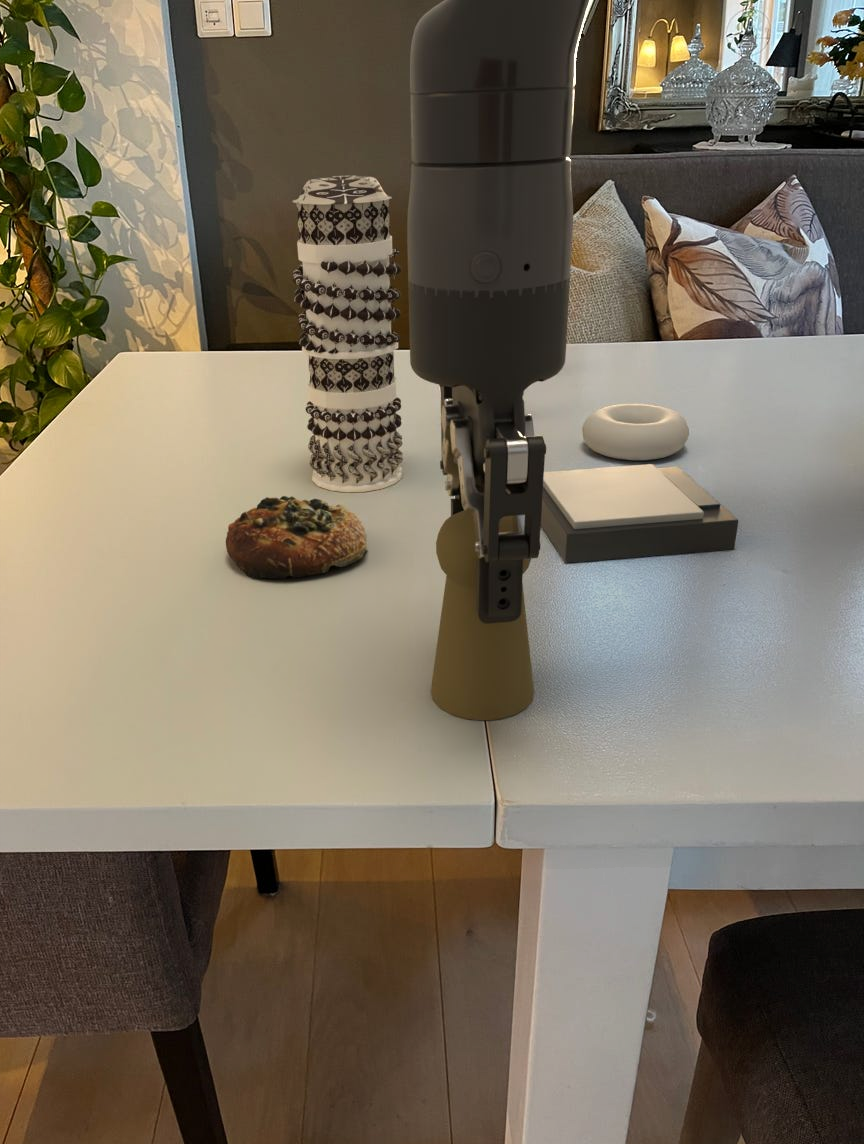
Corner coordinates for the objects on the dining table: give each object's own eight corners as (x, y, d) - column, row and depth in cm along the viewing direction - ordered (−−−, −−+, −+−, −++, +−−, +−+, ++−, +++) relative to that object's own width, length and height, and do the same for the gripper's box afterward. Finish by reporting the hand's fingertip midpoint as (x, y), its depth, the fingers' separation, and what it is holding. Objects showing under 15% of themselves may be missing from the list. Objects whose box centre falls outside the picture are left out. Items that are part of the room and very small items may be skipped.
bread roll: (207, 578, 70) (203, 511, 68) (248, 537, 80) (246, 478, 78) (356, 588, 68) (357, 520, 67) (379, 545, 79) (380, 485, 77)
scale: (674, 492, 82) (678, 459, 80) (734, 549, 71) (740, 512, 70) (526, 504, 81) (527, 470, 79) (565, 563, 70) (567, 526, 69)
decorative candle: (426, 468, 89) (421, 173, 77) (369, 500, 83) (354, 183, 70) (347, 453, 94) (331, 172, 82) (288, 483, 87) (260, 182, 75)
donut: (587, 431, 98) (574, 461, 89) (589, 397, 96) (576, 425, 88) (688, 437, 95) (685, 468, 87) (692, 402, 93) (689, 431, 85)
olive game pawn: (519, 728, 52) (526, 545, 47) (416, 709, 54) (411, 531, 49) (544, 673, 57) (554, 501, 52) (449, 657, 59) (448, 491, 54)
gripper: (617, 291, 38) (588, 645, 47) (530, 244, 51) (519, 531, 59) (432, 302, 38) (436, 659, 46) (390, 252, 50) (399, 540, 58)
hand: (483, 586), depth 52 cm, fingers open, 7 cm apart
